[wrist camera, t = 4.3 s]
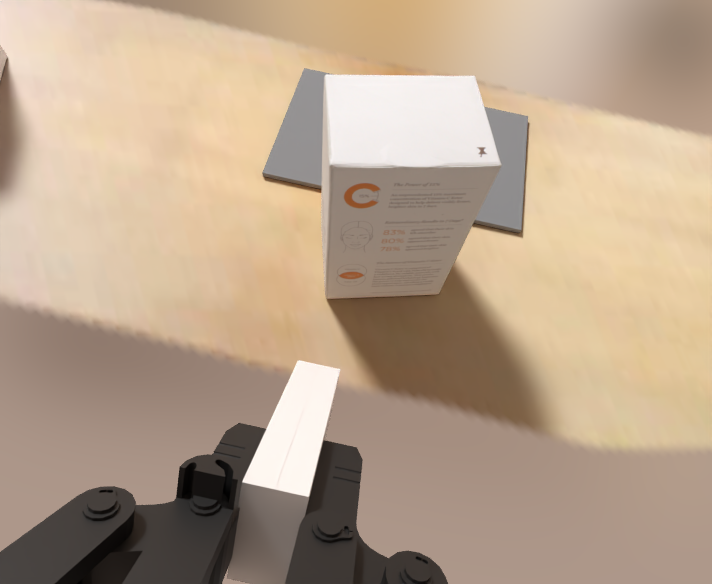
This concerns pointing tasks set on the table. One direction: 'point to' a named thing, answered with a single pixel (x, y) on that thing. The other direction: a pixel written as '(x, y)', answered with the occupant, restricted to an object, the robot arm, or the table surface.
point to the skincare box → (2, 61)
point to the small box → (400, 180)
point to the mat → (305, 140)
